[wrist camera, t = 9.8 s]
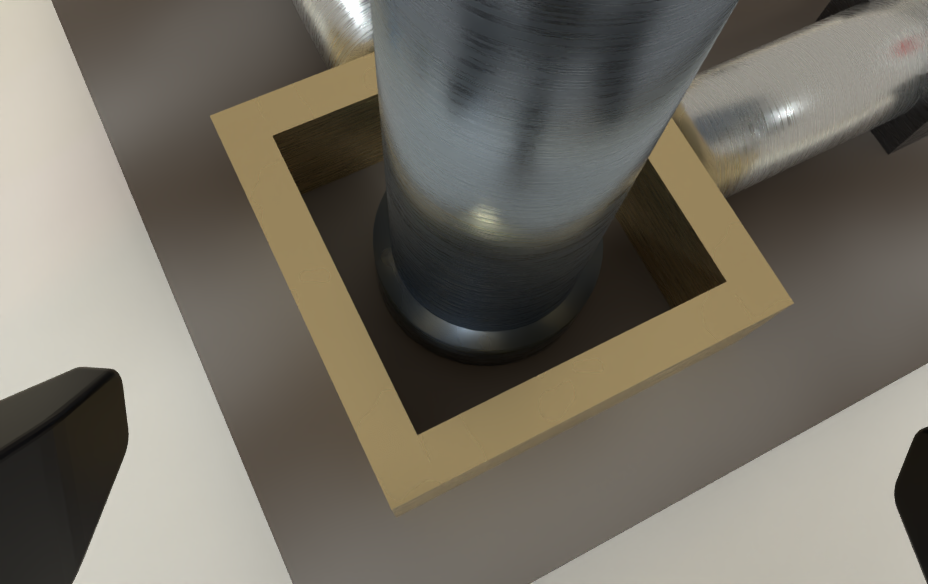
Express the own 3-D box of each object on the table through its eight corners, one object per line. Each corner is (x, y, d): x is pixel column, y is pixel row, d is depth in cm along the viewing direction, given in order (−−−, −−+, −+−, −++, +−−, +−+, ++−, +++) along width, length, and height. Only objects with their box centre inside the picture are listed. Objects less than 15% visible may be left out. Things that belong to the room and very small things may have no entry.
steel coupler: (603, 358, 18) (980, -50, 6) (381, 374, 18) (303, -28, 6) (574, 161, 20) (825, -474, 8) (370, 171, 20) (291, -481, 7)
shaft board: (1121, 251, 21) (1154, 237, 20) (341, 682, 17) (337, 690, 16) (677, -300, 27) (686, -331, 26) (19, -91, 23) (2, -119, 22)
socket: (1034, 188, 20) (1133, 128, 18) (396, 517, 17) (391, 509, 14) (667, -276, 25) (698, -381, 23) (113, -96, 22) (67, -193, 19)
